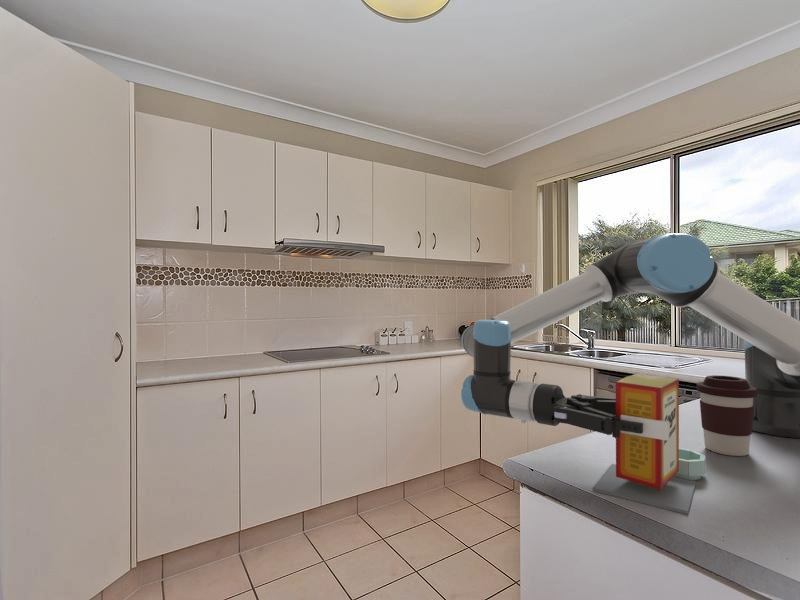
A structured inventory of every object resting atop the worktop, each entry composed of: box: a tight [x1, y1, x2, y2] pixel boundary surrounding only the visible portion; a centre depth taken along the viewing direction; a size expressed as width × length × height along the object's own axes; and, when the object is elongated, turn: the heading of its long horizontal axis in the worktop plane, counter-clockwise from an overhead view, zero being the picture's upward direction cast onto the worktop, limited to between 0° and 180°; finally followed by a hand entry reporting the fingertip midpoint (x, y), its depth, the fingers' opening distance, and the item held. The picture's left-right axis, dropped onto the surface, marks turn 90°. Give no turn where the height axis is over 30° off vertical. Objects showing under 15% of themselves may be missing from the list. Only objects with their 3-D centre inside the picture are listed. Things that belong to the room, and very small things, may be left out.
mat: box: [592, 463, 697, 515], centre depth 72 cm, size 13×13×1 cm
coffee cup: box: [696, 374, 757, 457], centre depth 89 cm, size 10×10×15 cm
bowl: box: [674, 447, 707, 481], centre depth 77 cm, size 7×7×4 cm
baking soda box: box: [615, 373, 680, 490], centre depth 71 cm, size 10×6×16 cm
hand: (673, 423), depth 69 cm, fingers closed on baking soda box, 10 cm apart
